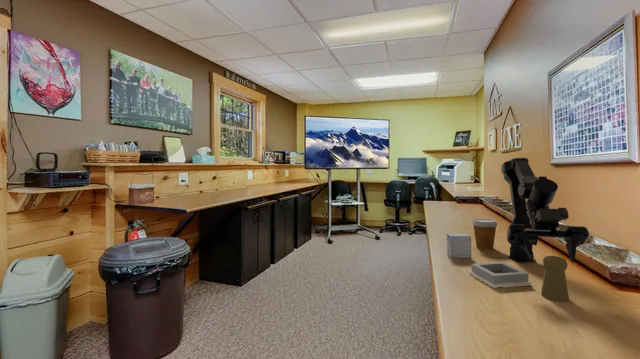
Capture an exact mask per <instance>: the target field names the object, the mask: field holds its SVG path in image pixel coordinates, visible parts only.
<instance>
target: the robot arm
mask: <svg viewBox="0 0 640 359" xmlns="http://www.w3.org/2000/svg"><path fill="white" fill-rule="evenodd" d="M501 174H503V180H505V181H506V183H508V184H509V191H510V199H511V206H512V213H513V219H512V221H511V223H510V224H509V225H508V228H507V232H506V241H507V242H508V244H510V246H509V255H507V258H509V259H511V260H513V261H516V262H519V263H529V262H531V263H532V262H536V261H537V260H536V259H535V256H534V251H533V246H537V245H538V239H539V237H540V238H552V239H553V238H558V239H561V238H562V239H564V240H565V247H566V250H567V254H568V257H569V259H570V262H571V263H574V262H575V260H576V255H577V254H576V253H577V248H578V247H580V246H581V245H584V244H585V243H586V241H587V239H588V237H589V235H590V232H589V229H588V228H587V227H586V226H583V225H582V226H581V225H578V226H577V225H568V227H567V229H566V230H557V228H559V227H560V222H561V221H567V220H568V219H569V217H570V216H569V212H568V209H567V207H558V208H551V207H550V204H552V202H553V201H554V198H555V196H556V193H557V190H558V188H559V185H558V183H556V182H555V181H553V180H552V179H550V178H549V179H548V177H547V176H544V175H543V176H538V177H537V176H536V175H535V173H534V171H533V170H532V167H531V166H530V164H529V159H528V158H527V157H514V158H511V159H510V160H507V161H505V162H503V164H501Z"/></svg>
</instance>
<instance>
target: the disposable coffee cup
mask: <svg viewBox="0 0 640 359" xmlns="http://www.w3.org/2000/svg"><path fill="white" fill-rule="evenodd" d="M471 222H472V225H473V231H474V240H475V246H476V248H477V249H479V250H483V251H484V250H485V251H486V250H487V251H491V250H494V246H495V245H494V244H495V238H496V230H497V226H498V223H497V220H495V219H493V218H474V219H473V220H472V221H471Z"/></svg>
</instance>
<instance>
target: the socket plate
mask: <svg viewBox="0 0 640 359" xmlns="http://www.w3.org/2000/svg"><path fill="white" fill-rule="evenodd" d="M468 274H469V275H471V276H472V277H474V278H475V279H478V280H479V281H481V282H482V281H483V282H482V283H483V284H486V285H487V284H488V287H491V288H492V287H493V288H492V289H498V288H497V287H503V288H515V286H516V287H524V286H525V287H527V286H528V285H529V286H532V281H530V280H529V272H526V271H525V270H522V269H520V268H518V267H516V266H513V265H511V264H508V263H507V262H504V261H495V262H493V261H491V262H481V263H478V262H477V263H471V270H469V272H468Z"/></svg>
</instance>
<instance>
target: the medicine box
mask: <svg viewBox="0 0 640 359" xmlns="http://www.w3.org/2000/svg"><path fill="white" fill-rule="evenodd" d="M446 254H447V255H446V256H448V257H449V258H450V259H471V258H472V236H471V235H469V234H468V233H447V234H446Z"/></svg>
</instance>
